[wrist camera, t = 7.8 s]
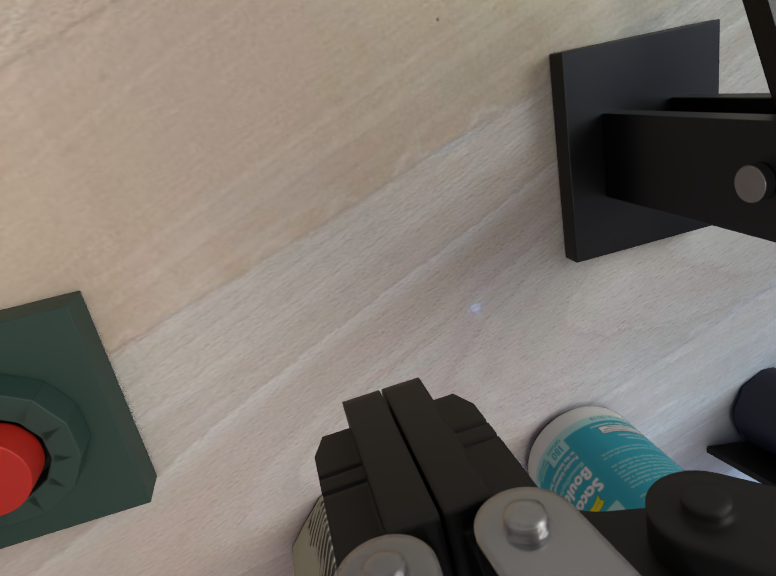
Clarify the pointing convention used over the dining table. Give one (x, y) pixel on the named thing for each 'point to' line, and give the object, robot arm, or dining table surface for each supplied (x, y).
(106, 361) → the button box
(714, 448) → the speaker
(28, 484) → the button
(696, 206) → the bracket
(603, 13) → the dining table surface
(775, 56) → the lever
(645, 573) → the robot arm
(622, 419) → the pill bottle
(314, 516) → the box
